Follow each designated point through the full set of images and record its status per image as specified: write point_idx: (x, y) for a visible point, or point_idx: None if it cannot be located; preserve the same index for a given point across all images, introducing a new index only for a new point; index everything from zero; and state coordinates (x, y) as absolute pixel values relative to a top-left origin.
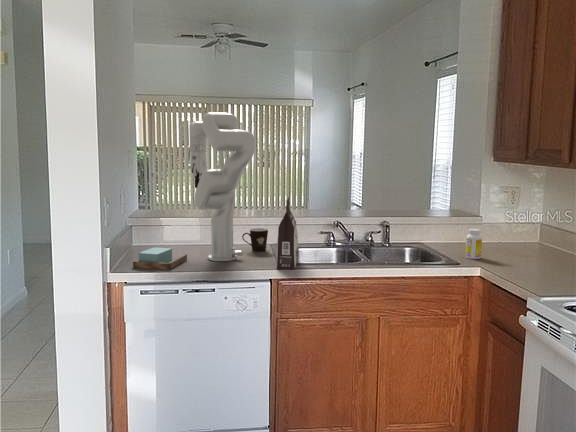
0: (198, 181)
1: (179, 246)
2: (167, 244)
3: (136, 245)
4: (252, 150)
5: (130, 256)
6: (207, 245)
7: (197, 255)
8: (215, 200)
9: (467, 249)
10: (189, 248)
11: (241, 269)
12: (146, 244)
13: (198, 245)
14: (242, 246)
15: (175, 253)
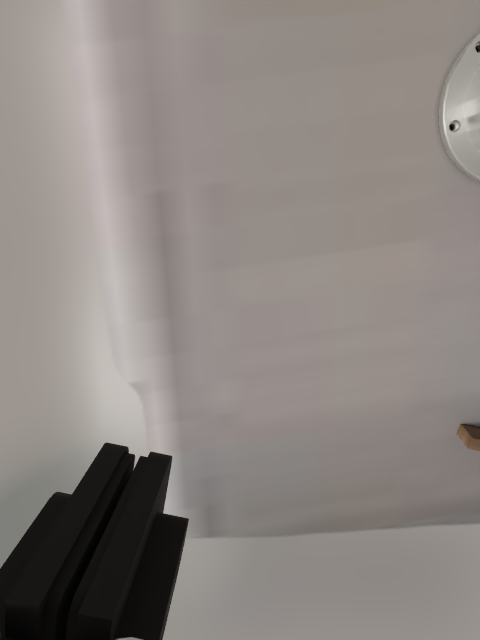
0: (164, 620)
1: (201, 370)
2: (158, 427)
3: (191, 534)
4: None
5: (409, 515)
6: (165, 239)
7: (419, 253)
8: None
9: None
10: (246, 318)
11: None
12: (167, 504)
13: (169, 286)
14: (177, 15)
15: (362, 361)
